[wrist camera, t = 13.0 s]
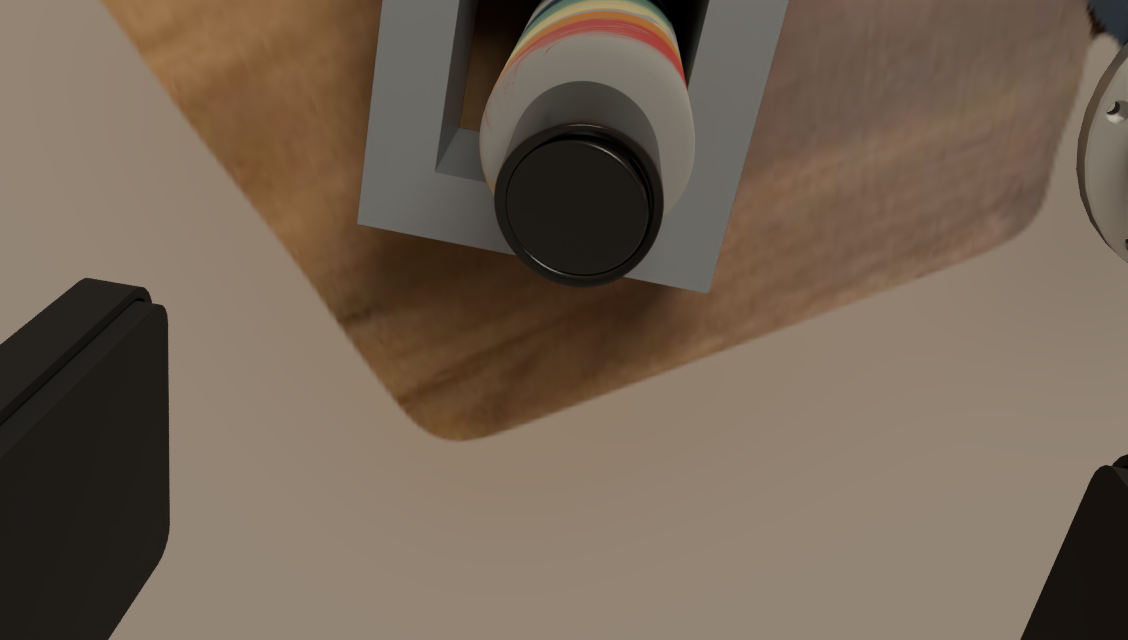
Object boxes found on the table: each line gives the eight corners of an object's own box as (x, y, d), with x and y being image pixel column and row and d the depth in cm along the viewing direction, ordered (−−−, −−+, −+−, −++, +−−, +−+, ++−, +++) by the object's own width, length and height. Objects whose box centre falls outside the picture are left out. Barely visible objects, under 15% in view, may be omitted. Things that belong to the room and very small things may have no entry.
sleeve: (784, -93, 39) (810, -79, 33) (698, 235, 44) (708, 293, 39) (433, -167, 38) (400, -165, 33) (390, 173, 44) (357, 223, 38)
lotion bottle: (694, 86, 42) (742, 287, 24) (559, 135, 43) (505, 363, 25) (646, -57, 39) (659, 42, 21) (505, -2, 41) (404, 137, 23)
